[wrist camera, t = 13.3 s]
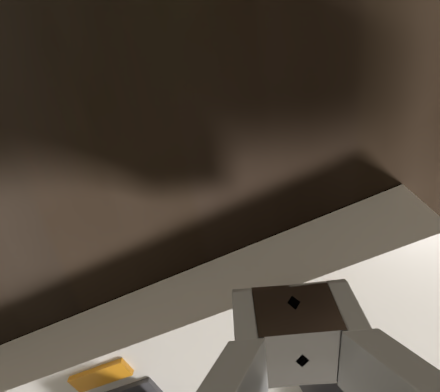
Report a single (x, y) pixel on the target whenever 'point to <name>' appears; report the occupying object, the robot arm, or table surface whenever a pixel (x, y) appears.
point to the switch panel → (223, 310)
